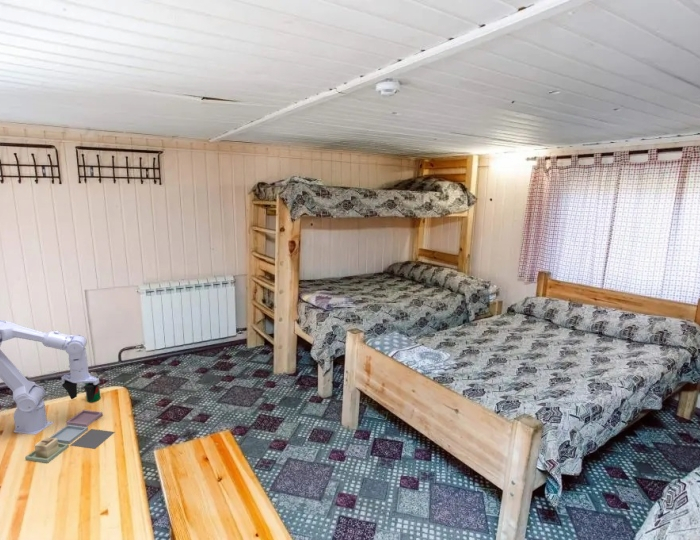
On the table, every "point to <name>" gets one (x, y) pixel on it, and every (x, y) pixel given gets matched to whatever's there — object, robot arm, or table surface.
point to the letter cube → (46, 447)
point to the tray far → (84, 418)
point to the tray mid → (69, 433)
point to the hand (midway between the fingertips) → (82, 398)
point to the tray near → (46, 460)
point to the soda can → (97, 393)
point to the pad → (92, 439)
